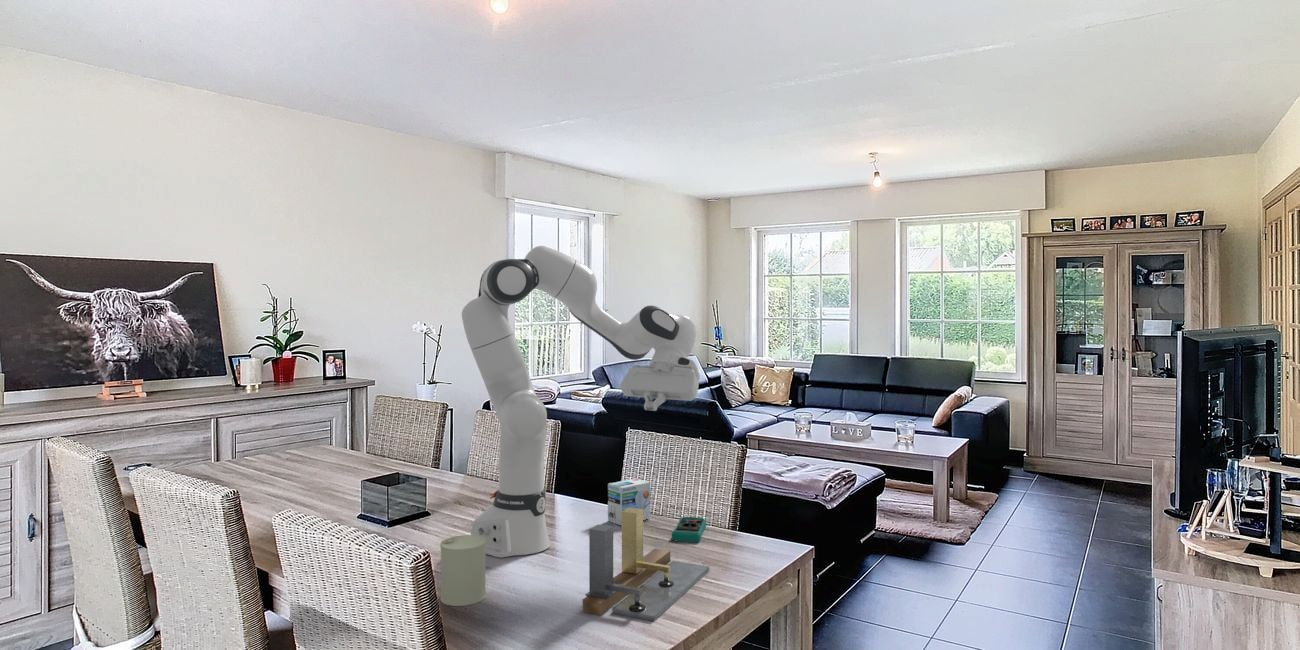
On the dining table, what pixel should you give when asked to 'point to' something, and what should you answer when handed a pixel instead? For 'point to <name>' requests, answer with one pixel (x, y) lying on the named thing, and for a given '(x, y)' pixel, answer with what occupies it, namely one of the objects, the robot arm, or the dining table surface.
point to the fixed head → (604, 566)
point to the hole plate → (661, 591)
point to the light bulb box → (628, 498)
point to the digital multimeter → (689, 529)
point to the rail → (626, 583)
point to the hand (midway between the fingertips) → (649, 409)
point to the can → (463, 570)
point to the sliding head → (636, 544)
